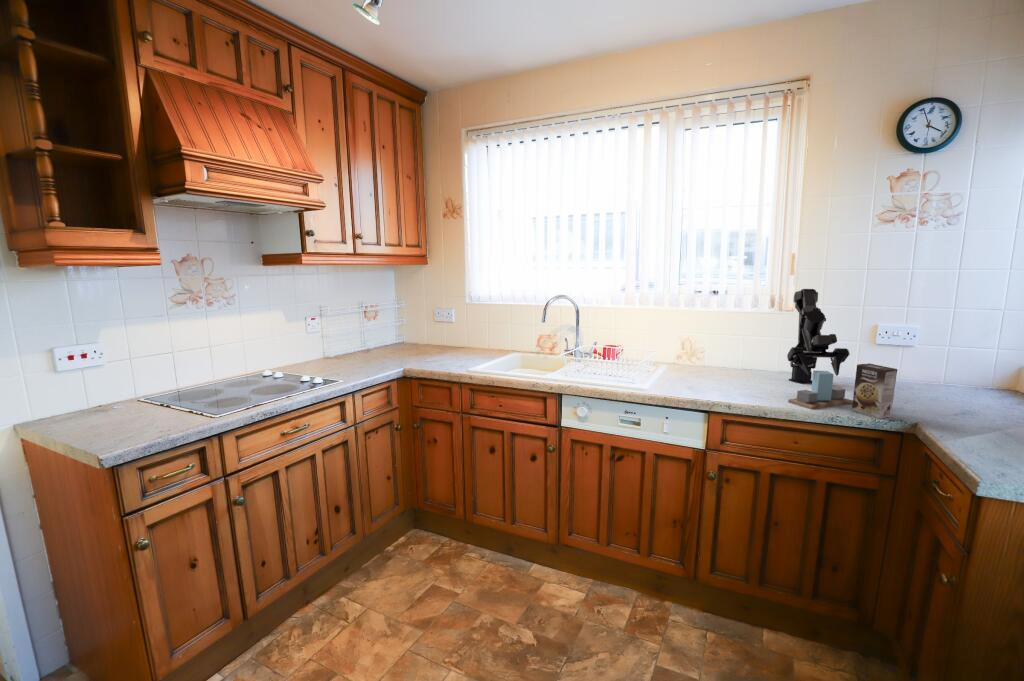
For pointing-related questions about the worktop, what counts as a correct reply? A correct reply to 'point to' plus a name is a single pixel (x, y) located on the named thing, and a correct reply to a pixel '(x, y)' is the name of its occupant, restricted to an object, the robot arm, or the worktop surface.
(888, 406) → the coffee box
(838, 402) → the board
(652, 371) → the worktop surface
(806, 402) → the rail
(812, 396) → the mounted modules
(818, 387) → the block
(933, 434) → the worktop surface
